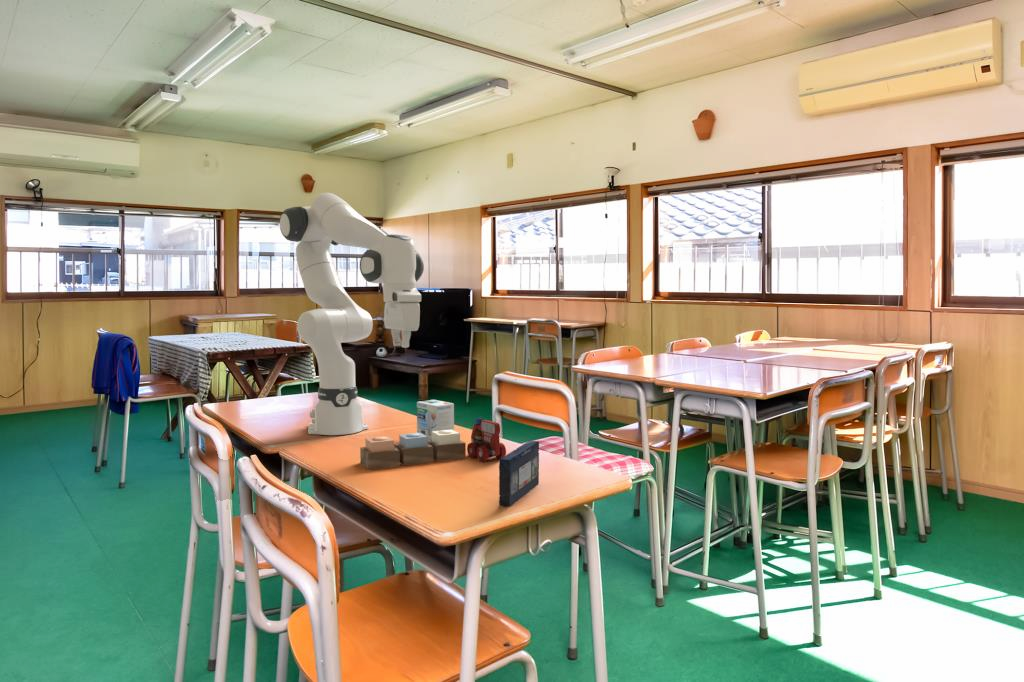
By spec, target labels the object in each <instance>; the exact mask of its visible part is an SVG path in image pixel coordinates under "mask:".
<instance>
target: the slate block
mask: <svg viewBox="0 0 1024 682" xmlns="http://www.w3.org/2000/svg"><path fill="white" fill-rule="evenodd" d="M398 440H399V442H398V443H399V445H400V446H402V447H403V448H405V449H410V448H419V447H428V440H429V439H428V437H427V436H426V435H424V434H422V433H417V432H413V433H412V432H411V433H404V434H399V438H398Z"/></svg>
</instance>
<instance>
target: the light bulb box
mask: <svg viewBox="0 0 1024 682" xmlns="http://www.w3.org/2000/svg"><path fill="white" fill-rule="evenodd" d="M451 429H452V430H454V431H455V404H454V403H452V402H449V401H443V400H437V399H430V400H429V399H428V400H422V401H420V400H419V401H417V402H416V433H422V434H424V435H426V436H427V437H428V440H432V431H441V430H451Z"/></svg>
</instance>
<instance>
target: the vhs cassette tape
mask: <svg viewBox="0 0 1024 682" xmlns="http://www.w3.org/2000/svg"><path fill="white" fill-rule="evenodd" d="M498 462H499V464H498V472H499V473H498V474H499V476H498V480H499V481H498V482H499V484H498V493H499V497H498V500H499V501H498V505H499V506H500V507H507V508H510V507H511V506H513V505H514V504H516V503H517V502H518V501H520V500H521V499H522V498H523V497H525V496H526V495H527V494H528V493H530V492H531V491H532V490H533V489H535V488H536V487H537V486H538V485H539V483H540V480H539V478H540V477H539V476H540V472H539V468H540V466H539V465H540V441H539V440H528V441H527V442H525V443H523V444H522V445H520V446H518V447H517V448H516V449H513V450H511V451H510V452H509V453H506V455H505V456H504V457H503V458H501V459H499V460H498ZM535 486H536V487H535ZM530 490H531V491H530ZM515 502H516V503H515Z"/></svg>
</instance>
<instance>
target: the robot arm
mask: <svg viewBox="0 0 1024 682" xmlns="http://www.w3.org/2000/svg"><path fill="white" fill-rule="evenodd" d="M279 229H280V233H281V235H282V237H284V238H285V239H286V240H287V241H289V242H295V243H298V244H297V245H296V248H295V253H296V254H295V257H296V262H297V266H298V267H297V269H298V270H299V271H298V272H299V275H300V278H301V281H302V284H303V287H304V290H305V293H306V295H307V298H308V299H310V300H311V302H313V303H315V304H317V305H318V306H320V307H321V308H315V309H309V310H307V311H304V312H302V313H301V314H300V316H299V318H298V320H297V324H296V328H297V330H296V331H297V334H298V336H299V338H300V339H301V340H302V341H303V342H304V343H305V344H307V345H308V346H309V347H310V349H311V350H312V352H313V354H314V356H315V358H316V363H317V366H318V379H319V382H318V384H319V387H318V389H317V399H318V401H317V402H316V405H315V406H314V409H311V410H309V418H310V419H311V422H308V429H307V434H308V435H322V436H342V435H343V436H344V435H351V434H355V433H356V434H357V433H359V432H361V431H363V430H367V429H369V425H368V424H365V423H364V414H363V404H362V402H360V401H359V399H357V398H358V387H357V386H356V363H355V360H353V358H351V357H350V356H348V355H347V354H346V353H344V351H343V347H342V343H354V342H357V341H361V340H364V339H367V338H368V337H369V336H370V335H371V333H372V331H373V327H374V323H373V322H374V321H373V318H372V316H371V313H369V312H368V311H367V310H365V309H363V308H362V307H361V306H360V305H359V304H357V303H356V302H355V301H354V300H353V299H352V298H351V296H350V295H349V294H348V292H347V291H346V290H345V288H344V286H343V284H342V281H341V279H340V277H339V273H338V271H337V268H336V265H335V263H334V259H333V257H332V255H331V250H330V247H331V245H332V246H338V245H341V246H345V247H346V246H347V247H354V248H361V249H362V248H363V249H367V250H366V251H365V252H364V253H363V254H362V255H361V257H360V259H359V270H360V273H361V276H362V277H363V279H364V280H365V281H366V282H368V283H372V284H382V286H383V287H382V289H383V292H382V293H383V302H385V303H384V308H383V310H384V313H383V314H384V315H383V324H384V327H385V328H386V329H390V330H391V331H390V332H391V333H390V334H391V337H392V343H393V344H392V345H393V346H394V347H401V348H404V349H405V348H409V347H410V340H411V336H412V332H417V331H418V330H419V328H420V321H421V320H420V317H421V316H420V315H421V310H420V309H421V308H420V307H421V306H420V302H422V294H421V293H420V292H419V291H418V288H417V287H418V286H417V282H418V281H419V280H420V279H421V277H422V275H423V273H424V270H425V269H424V268H425V265H424V261H423V259H422V257H421V255H420V254H419V252H418V251H417V250H416V247H415V243H414V239H412V238H411V237H410V236H407V235H403V234H402V235H401V234H393V233H392V234H389V233H388V232H386V231H385V230H384V229H382V228H380V227H379V226H377V225H376V224H375V223H373V222H371V221H370V220H368V219H367V218H365V217H364V216H362V215H361V214H360V213H359V212H357V210H356V209H354V208H353V207H352V206H351V205H350V204H349V203H348V202H347V201H345V200H344V199H342V197H340V196H338V195H336V194H334V193H331V192H322V193H319V194H318V195H317V196H316V197H315V198H314V199H313V201H312V203H311V205H310V206H309V205H307V206H293V207H289V208H286V209H284V210H283V211H282V213H281V214H280V217H279ZM400 333H401V335H400ZM400 336H401V337H400Z"/></svg>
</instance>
